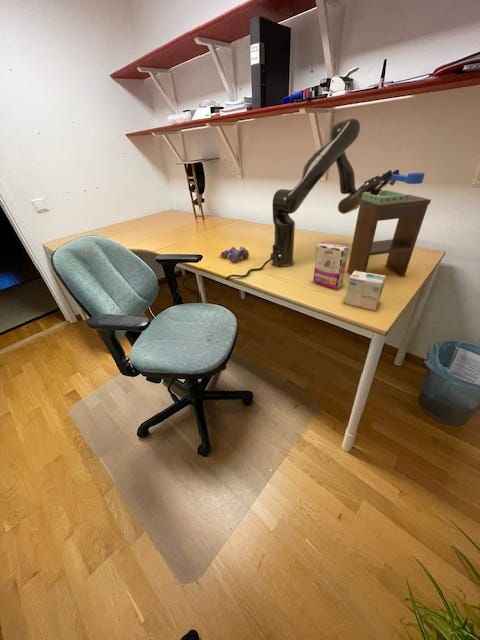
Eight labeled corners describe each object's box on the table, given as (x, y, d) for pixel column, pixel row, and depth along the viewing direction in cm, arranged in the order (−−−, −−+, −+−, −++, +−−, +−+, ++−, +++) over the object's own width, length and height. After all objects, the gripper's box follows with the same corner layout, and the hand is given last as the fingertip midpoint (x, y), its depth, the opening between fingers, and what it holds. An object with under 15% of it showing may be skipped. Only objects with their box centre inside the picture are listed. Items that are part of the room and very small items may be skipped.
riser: (405, 276, 107) (431, 199, 90) (360, 282, 106) (378, 205, 88) (387, 265, 117) (407, 194, 100) (346, 271, 115) (359, 199, 98)
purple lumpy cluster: (230, 252, 145) (229, 241, 141) (249, 258, 136) (248, 246, 132) (217, 257, 140) (216, 246, 136) (236, 264, 131) (235, 252, 127)
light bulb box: (379, 302, 93) (387, 275, 87) (375, 311, 88) (383, 283, 82) (348, 295, 98) (354, 269, 92) (343, 303, 94) (349, 276, 87)
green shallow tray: (406, 202, 89) (408, 194, 88) (379, 205, 88) (381, 197, 87) (385, 196, 99) (387, 189, 98) (361, 199, 98) (362, 192, 97)
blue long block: (425, 182, 88) (428, 173, 87) (412, 184, 88) (414, 175, 86) (389, 177, 104) (391, 169, 102) (378, 178, 104) (380, 170, 102)
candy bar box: (342, 285, 105) (350, 246, 95) (336, 290, 102) (343, 250, 93) (318, 278, 112) (323, 241, 102) (312, 282, 109) (316, 244, 99)
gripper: (352, 184, 114) (376, 163, 97) (381, 181, 115) (410, 160, 98) (354, 201, 115) (378, 184, 98) (382, 198, 116) (412, 180, 99)
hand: (394, 172), depth 98 cm, fingers closed on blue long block, 2 cm apart
